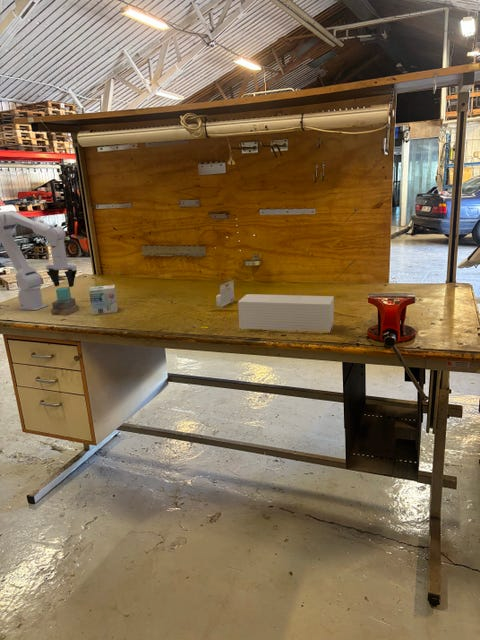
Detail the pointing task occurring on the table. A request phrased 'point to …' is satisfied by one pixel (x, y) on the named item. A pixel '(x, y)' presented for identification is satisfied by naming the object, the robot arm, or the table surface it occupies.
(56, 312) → the bottom slab
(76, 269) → the robot arm
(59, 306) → the top slab
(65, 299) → the teal block
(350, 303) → the table surface
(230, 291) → the ink cartridge box
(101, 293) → the light bulb box
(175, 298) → the table surface
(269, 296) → the stack of papers
